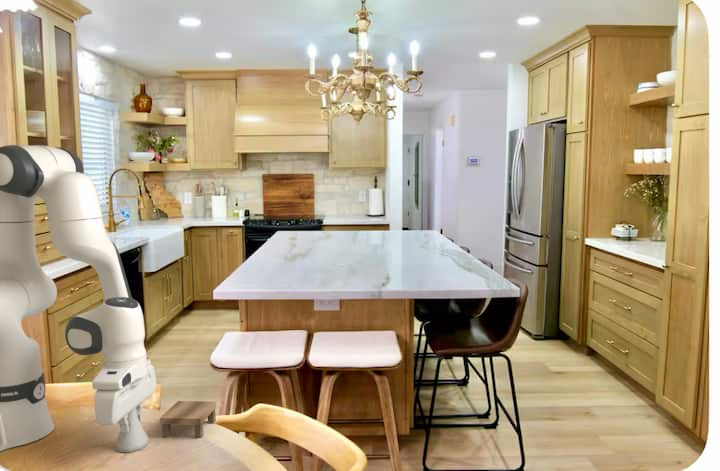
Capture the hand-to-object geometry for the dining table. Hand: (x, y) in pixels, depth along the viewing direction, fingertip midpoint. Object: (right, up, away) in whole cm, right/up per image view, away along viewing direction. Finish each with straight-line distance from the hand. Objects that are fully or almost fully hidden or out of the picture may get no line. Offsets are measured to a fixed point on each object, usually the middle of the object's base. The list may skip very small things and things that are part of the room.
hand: (131, 426), depth 127 cm
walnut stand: (+11, -3, +8) cm, 14 cm away
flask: (0, -5, +1) cm, 5 cm away
